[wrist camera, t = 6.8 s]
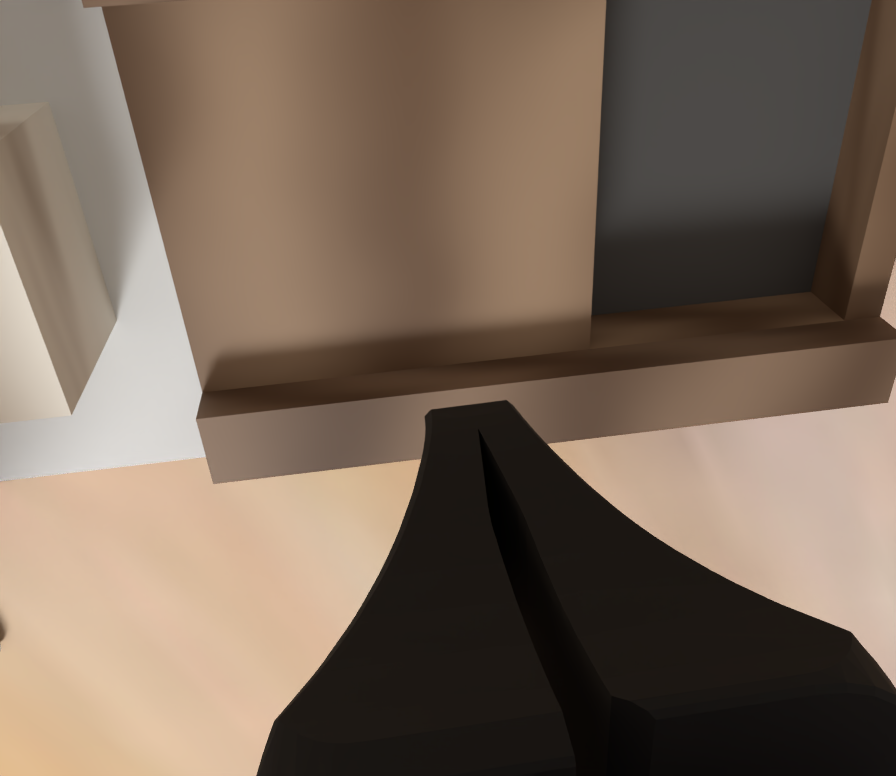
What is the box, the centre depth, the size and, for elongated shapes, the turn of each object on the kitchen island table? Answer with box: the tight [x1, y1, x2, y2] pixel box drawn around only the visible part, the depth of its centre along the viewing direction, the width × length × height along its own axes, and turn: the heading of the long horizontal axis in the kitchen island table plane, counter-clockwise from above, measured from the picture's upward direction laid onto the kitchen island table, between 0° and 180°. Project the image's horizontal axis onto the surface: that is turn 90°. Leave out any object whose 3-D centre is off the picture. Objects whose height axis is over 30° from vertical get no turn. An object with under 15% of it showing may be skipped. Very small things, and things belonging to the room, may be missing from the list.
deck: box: [0, 0, 896, 484], centre depth 19 cm, size 26×13×3 cm, turn 93°
